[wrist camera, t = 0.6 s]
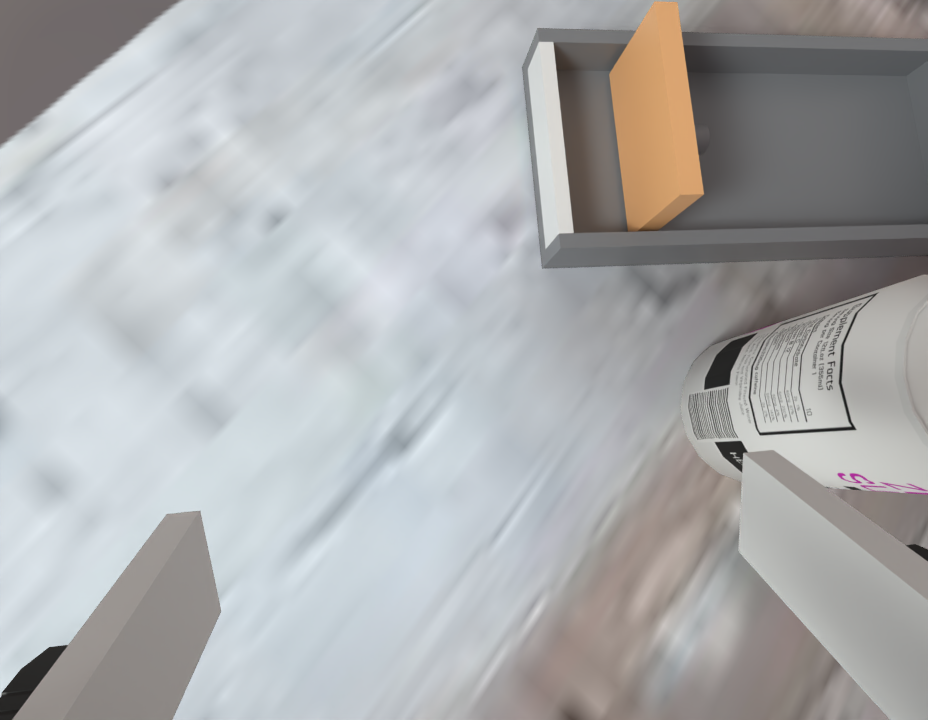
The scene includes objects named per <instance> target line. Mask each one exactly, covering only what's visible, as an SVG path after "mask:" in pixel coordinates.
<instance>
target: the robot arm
mask: <svg viewBox="0 0 928 720" xmlns="http://www.w3.org/2000/svg"><path fill="white" fill-rule="evenodd" d="M739 552H740V554H741V555H742V556H743V557H744V558H745V559H746V560H747V561H748V562H749V564H750V565H751V566H752V567H753V568H754V569H755V570H756V571H757V572H758V574H759V575H760V576H761V577H762V578H763V579H764V580H765V581H766V582H767V584H768V585H769V586H770V587H771V588H772V589H773V590H774V591H775V592H776V594H777V595H778V596H779V597H780V598H781V599H782V600H783V601H784V602H785V604H786V605H787V606H788V607H789V608H790V609H791V610H792V611H793V612H794V614H795V615H796V616H797V617H798V618H799V619H800V620H801V621H802V622H803V624H804V625H805V626H806V627H807V628H808V629H809V630H810V631H811V632H812V634H813V635H814V636H815V637H816V638H817V639H818V640H819V641H820V642H821V644H822V645H823V646H824V647H825V648H826V649H827V650H828V651H829V652H830V654H831V655H832V656H833V657H834V658H835V659H836V660H837V661H838V662H839V664H840V665H841V666H842V667H843V668H844V669H845V670H846V671H847V672H848V674H849V675H850V676H851V677H852V678H853V679H854V680H855V681H856V682H857V684H858V685H859V686H860V687H861V688H862V689H863V690H864V691H865V692H866V694H867V695H868V696H869V697H870V698H871V699H872V700H873V701H874V702H875V704H876V705H877V706H878V707H879V708H880V709H881V710H882V711H883V712H884V714H885V715H886V716H887V717H888V718H889V719H890V720H928V550H927V549H925V548H923V547H921V546H918V545H916V544H914V545H904V544H903V543H901V542H900V541H899V540H897V539H896V538H895V537H893V536H892V535H890V534H889V533H888V532H886V531H885V530H884V529H882V528H881V527H879V526H878V525H877V524H875V523H874V522H872V521H871V520H870V519H868V518H867V517H866V516H864V515H863V514H861V513H860V512H859V511H857V510H856V509H854V508H853V507H852V506H850V505H849V504H848V503H846V502H845V501H843V500H842V499H841V498H839V497H838V496H837V495H835V494H834V493H832V492H831V491H830V490H828V489H827V488H825V487H824V486H823V485H821V484H820V483H819V482H817V481H816V480H814V479H813V478H812V477H810V476H809V475H808V474H806V473H805V472H803V471H802V470H801V469H799V468H798V467H796V466H795V465H794V464H792V463H791V462H790V461H788V460H787V459H785V458H784V457H783V456H781V455H780V454H778V453H777V452H776V451H774V450H766V451H757V452H748V453H743V469H742V490H741V512H740V534H739ZM220 613H221V608H220V603H219V598H218V593H217V589H216V584H215V579H214V574H213V570H212V565H211V560H210V555H209V551H208V546H207V541H206V536H205V532H204V527H203V522H202V517H201V513H200V511H193V512H183V513H174V514H167V515H166V516H165V517H164V519H163V520H162V521H161V522H160V524H159V525H158V526H157V528H156V529H155V530H154V532H153V533H152V534H151V536H150V537H149V538H148V540H147V541H146V542H145V544H144V545H143V546H142V548H141V549H140V550H139V552H138V553H137V554H136V556H135V557H134V558H133V560H132V561H131V562H130V564H129V565H128V566H127V568H126V569H125V570H124V572H123V573H122V574H121V576H120V577H119V578H118V580H117V581H116V582H115V584H114V585H113V586H112V588H111V589H110V590H109V592H108V593H107V594H106V596H105V597H104V598H103V600H102V601H101V602H100V604H99V605H98V606H97V608H96V609H95V610H94V612H93V613H92V614H91V616H90V617H89V618H88V620H87V621H86V622H85V624H84V625H83V626H82V628H81V629H80V630H79V632H78V633H77V634H76V636H75V637H74V638H73V640H72V641H71V642H70V643H69V645H64V646H56V647H49V648H48V649H46V650H45V651H44V652H43V653H41V654H40V655H39V656H37V657H36V658H35V659H33V660H32V661H31V662H30V663H28V664H27V665H26V666H24V667H23V668H22V669H21V670H20V671H19V672H18V674H17V675H16V676H15V677H14V678H13V680H12V681H11V682H10V683H9V685H8V686H7V687H6V688H5V690H4V691H3V692H2V696H1V698H0V720H172V719H173V717H174V715H175V713H176V710H177V708H178V706H179V704H180V702H181V699H182V697H183V695H184V693H185V690H186V688H187V686H188V684H189V682H190V679H191V677H192V675H193V673H194V671H195V668H196V666H197V664H198V662H199V659H200V657H201V655H202V653H203V651H204V648H205V646H206V644H207V642H208V639H209V637H210V635H211V633H212V631H213V628H214V626H215V624H216V622H217V619H218V617H219V615H220Z"/></svg>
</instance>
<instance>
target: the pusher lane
mask: <svg viewBox="0 0 928 720" xmlns="http://www.w3.org/2000/svg"><path fill="white" fill-rule="evenodd" d="M635 32H636V31H622V30H586V29H550V28H537V31H536V34H535V36H534V39H533V41H532V44H531V46H530V49H529V51H528V54H527V57H526V59H525V62H524V64H523V67H522V70H523V80H524V90H525V100H526V110H527V120H528V130H529V140H530V151H531V161H532V171H533V181H534V191H535V201H536V211H537V221H538V231H539V241H540V252H541V262H542V268H570V267H600V266H629V265H659V264H688V263H718V262H747V261H777V260H806V259H836V258H865V257H895V256H924V255H928V39H909V38H873V37H837V36H801V35H765V34H730V33H694V32H682V40H683V47H684V54H685V61H686V68H687V76H688V83H689V90H690V97H691V104H692V112H693V119H694V125H706V126H707V127H708V129H709V132H710V140H709V145H708V148H707V150H706V152H705V153H704V154H702V155H699V162H700V169H701V176H702V184H703V191H704V195H703V196H701V197H700V198H699V199H697V200H696V201H695V202H694V203H692V204H691V205H690V206H689V207H687V208H686V209H685V210H683V211H682V212H681V213H680V214H678V215H677V216H676V217H675V218H673V219H672V220H671V221H669V222H668V223H667V224H666V225H664V226H663V227H662V228H661V229H659V230H658V231H639V232H628V227H627V219H626V210H625V202H624V194H623V185H622V177H621V169H620V160H619V152H618V144H617V135H616V127H615V119H614V110H613V102H612V94H611V85H610V77H609V74H610V72H611V70H612V69H613V67H614V66H615V64H616V62H617V61H618V59H619V58H620V56H621V54H622V53H623V51H624V50H625V48H626V46H627V45H628V43H629V42H630V40H631V38H632V37H633V35H634V34H635Z"/></svg>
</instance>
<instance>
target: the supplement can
mask: <svg viewBox="0 0 928 720" xmlns="http://www.w3.org/2000/svg"><path fill="white" fill-rule="evenodd" d="M680 410H681V414H682V419H683V423H684V428H685V432H686V435H687V437H688V438H689V440H690V442H691V443H692V445H693V447H694V448H695V450H696V452H697V454H698V455H699V457H700V458H701V459H703V460H704V461H705V462H706V463H707V464H708V465H710V466H711V467H712V468H713V469H714V470H715V471H717V472H718V473H719V474H721V475H724V476H727V477H729V478H732V479H735V480H737V481H740V482H742V469H743V453H748V452H757V451H766V450H774V451H776V452H777V453H778V454H780V455H781V456H783V457H784V458H785V459H787V460H788V461H790V462H791V463H792V464H794V465H795V466H796V467H798V468H799V469H801V470H802V471H803V472H805V473H806V474H808V475H809V476H810V477H812V478H813V479H814V480H816V481H817V482H819V483H820V484H821V485H823V486H824V487H825V488H836V489H851V490H867V491H882V492H897V493H913V494H928V275H921V276H918V277H915V278H912V279H909V280H906V281H903V282H900V283H896V284H893V285H890V286H887V287H884V288H881V289H878V290H875V291H872V292H869V293H866V294H863V295H860V296H857V297H854V298H851V299H848V300H845V301H842V302H839V303H836V304H833V305H830V306H827V307H824V308H821V309H818V310H815V311H812V312H809V313H806V314H803V315H800V316H797V317H794V318H791V319H788V320H785V321H782V322H779V323H776V324H773V325H770V326H767V327H764V328H761V329H758V330H755V331H752V332H749V333H746V334H743V335H739V336H736V337H733V338H731V339H728V340H725V341H723V342H720V343H717V344H714V345H712V346H710V347H709V348H708V349H707V350H706V351H705V352H704V353H702V354H701V355H700V356H699V357H698V358H697V359H696V360H695V361H694V362H693V364H692V366H691V368H690V370H689V372H688V374H687V376H686V378H685V380H684V382H683V388H682V397H681V406H680Z"/></svg>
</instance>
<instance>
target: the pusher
mask: <svg viewBox="0 0 928 720" xmlns="http://www.w3.org/2000/svg"><path fill="white" fill-rule="evenodd" d="M609 77H610V85H611V94H612V102H613V110H614V119H615V127H616V135H617V144H618V152H619V160H620V169H621V177H622V185H623V194H624V202H625V210H626V219H627V227H628V232H639V231H658V230H659V229H661V228H662V227H663V226H664V225H666V224H667V223H668V222H669V221H671V220H672V219H673V218H675V217H676V216H677V215H678V214H680V213H681V212H682V211H683V210H685V209H686V208H687V207H689V206H690V205H691V204H692V203H694V202H695V201H696V200H697V199H699V198H700V197H701V196H703V195H704V191H703V184H702V176H701V169H700V162H699V155H702V154H704V153H705V152H706V150H707V148H708V145H709V140H710V132H709V129H708V127H707V126H706V125H694V119H693V112H692V104H691V97H690V90H689V83H688V76H687V68H686V61H685V54H684V47H683V40H682V32H681V25H680V18H679V11H678V4H677V2H654V3H653V5H652V6H651V8H650V10H649V11H648V13H647V14H646V16H645V18H644V19H643V21H642V22H641V24H640V26H639V27H638V29H637V30H636V32H635V34H634V35H633V37H632V38H631V40H630V42H629V43H628V45H627V46H626V48H625V50H624V51H623V53H622V54H621V56H620V58H619V59H618V61H617V62H616V64H615V66H614V67H613V69H612V70H611V72H610V74H609Z"/></svg>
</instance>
